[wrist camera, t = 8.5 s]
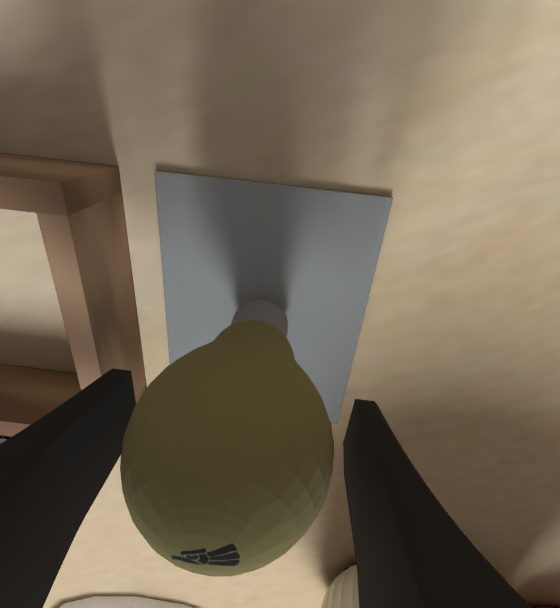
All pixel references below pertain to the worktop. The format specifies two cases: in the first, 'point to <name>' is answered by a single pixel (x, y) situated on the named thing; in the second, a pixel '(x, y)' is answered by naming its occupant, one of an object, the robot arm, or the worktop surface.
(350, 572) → the canister
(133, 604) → the dish
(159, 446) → the light bulb
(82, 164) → the walnut box
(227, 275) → the pad
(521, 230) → the worktop surface
